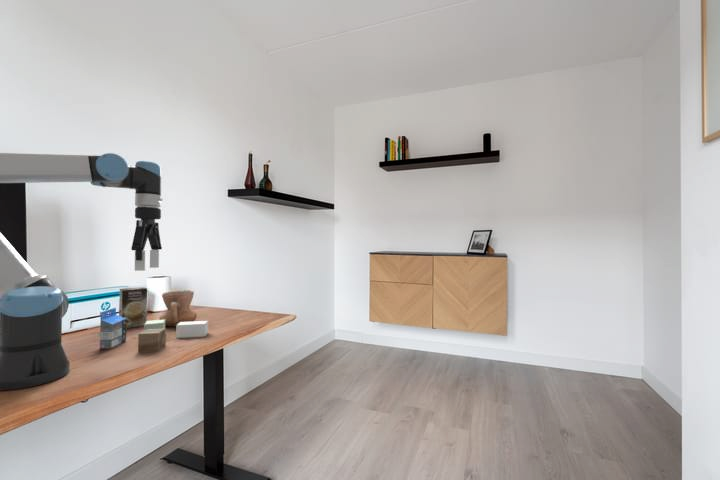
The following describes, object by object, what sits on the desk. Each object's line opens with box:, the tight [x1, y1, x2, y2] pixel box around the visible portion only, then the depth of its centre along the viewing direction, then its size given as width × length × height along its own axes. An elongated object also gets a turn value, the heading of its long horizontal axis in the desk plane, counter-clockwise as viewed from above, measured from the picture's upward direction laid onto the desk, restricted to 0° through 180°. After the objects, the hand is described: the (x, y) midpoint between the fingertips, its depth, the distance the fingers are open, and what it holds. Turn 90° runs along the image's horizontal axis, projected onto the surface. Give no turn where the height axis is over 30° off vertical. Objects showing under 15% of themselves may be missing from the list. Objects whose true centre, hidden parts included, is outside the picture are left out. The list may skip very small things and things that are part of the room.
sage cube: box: [143, 319, 166, 331], centre depth 125 cm, size 6×6×6 cm
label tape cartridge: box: [99, 307, 127, 350], centre depth 116 cm, size 9×4×12 cm, turn 7°
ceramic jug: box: [158, 289, 198, 327], centre depth 145 cm, size 18×14×14 cm
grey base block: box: [175, 320, 209, 339], centre depth 128 cm, size 5×10×5 cm, turn 102°
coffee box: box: [118, 286, 148, 329], centre depth 142 cm, size 9×6×16 cm
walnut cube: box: [137, 327, 167, 353], centre depth 112 cm, size 6×6×6 cm
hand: (147, 269), depth 114 cm, fingers open, 13 cm apart
